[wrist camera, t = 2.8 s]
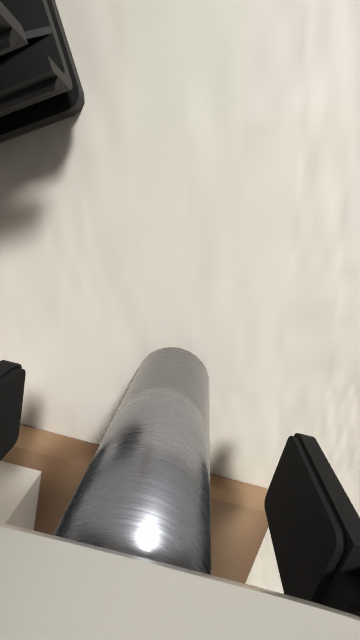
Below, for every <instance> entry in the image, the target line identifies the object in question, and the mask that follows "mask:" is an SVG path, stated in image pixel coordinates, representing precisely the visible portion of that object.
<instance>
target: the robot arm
mask: <svg viewBox="0 0 360 640" xmlns="http://www.w3.org/2000/svg"><path fill="white" fill-rule="evenodd" d="M24 383H25V370H24V369H22V367H21V365H20V364H18V363H13V362H9V361H5V360H2V361H0V461H1V460H2V459H3V458H4V457H5V455H6V454H7V453H8V452H9V451H10V450H11V449H12V448H13V446H14V445H15V444H16V442H17V440H18V437H19V430H20V420H21V411H22V402H23V393H24ZM264 507H265V512H266V517H267V521H268V525H269V530H270V534H271V538H272V543H273V547H274V551H275V556H276V560H277V564H278V569H279V573H280V578H281V582H282V586H283V591H284V594H281V593H278V592H274V591H271V590H267V589H263V588H259V587H256V586H252V585H248V584H244V583H240V582H236V581H232V580H228V579H224V578H221V577H217V576H213V575H209V574H205V573H201V572H197V571H193V570H189V569H186V568H182V567H178V566H174V565H170V564H166V563H162V562H158V561H154V560H150V559H146V558H142V557H138V556H134V555H130V554H126V553H122V552H118V551H114V550H110V549H106V548H102V547H98V546H94V545H90V544H86V543H82V542H78V541H74V540H70V539H66V538H62V537H58V536H54V535H50V534H46V533H41V532H37V531H33V530H29V529H25V528H21V527H17V526H13V525H9V524H4V523H0V640H360V518H359V516H358V514H357V512H356V510H355V509H354V507H353V505H352V503H351V501H350V500H349V498H348V496H347V494H346V493H345V491H344V489H343V487H342V485H341V484H340V482H339V480H338V478H337V476H336V475H335V473H334V471H333V469H332V467H331V466H330V464H329V462H328V460H327V459H326V457H325V455H324V453H323V451H322V450H321V448H320V446H319V444H318V442H317V441H316V439H315V438H314V437H311V436H307V435H303V434H299V433H296V434H295V435H294V436H290V437H289V438H288V440H287V442H286V445H285V448H284V450H283V453H282V455H281V458H280V460H279V463H278V466H277V468H276V471H275V473H274V476H273V478H272V481H271V483H270V486H269V489H268V491H267V494H266V496H265V502H264Z"/></svg>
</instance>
